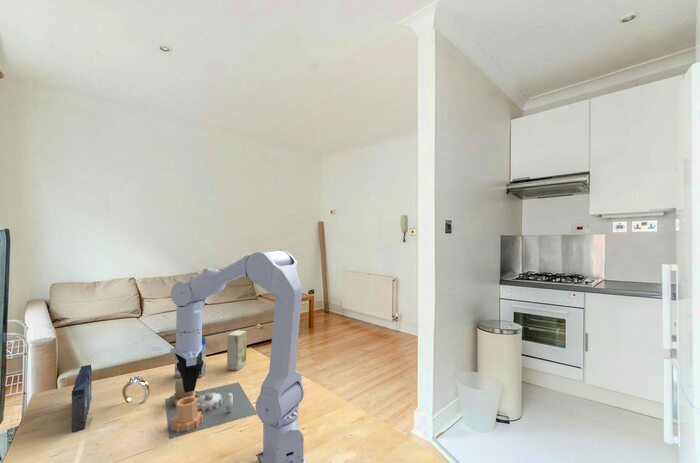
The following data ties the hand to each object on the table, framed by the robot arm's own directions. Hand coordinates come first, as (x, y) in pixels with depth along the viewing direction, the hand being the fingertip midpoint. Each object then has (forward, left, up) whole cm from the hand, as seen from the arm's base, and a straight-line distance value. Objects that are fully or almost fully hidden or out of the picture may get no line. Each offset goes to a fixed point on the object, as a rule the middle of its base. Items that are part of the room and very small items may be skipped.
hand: (188, 384), depth 81 cm
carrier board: (+7, -6, -11) cm, 14 cm away
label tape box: (+33, -4, -11) cm, 35 cm away
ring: (+19, +11, -11) cm, 25 cm away
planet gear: (0, 0, -10) cm, 10 cm away
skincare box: (+32, -19, -11) cm, 39 cm away
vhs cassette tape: (+21, +23, -11) cm, 33 cm away
